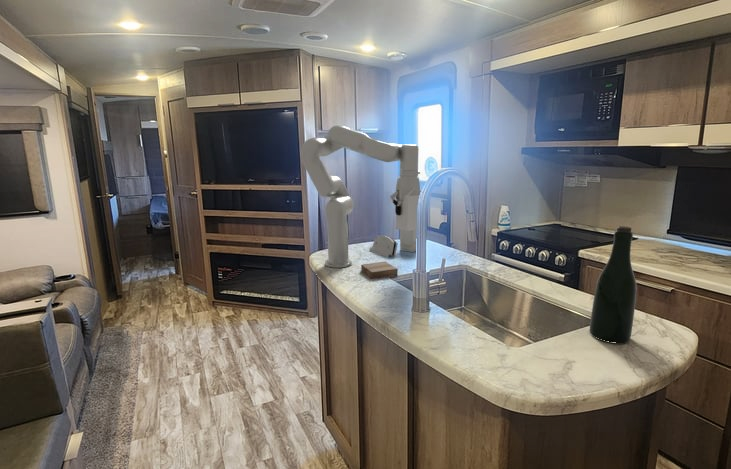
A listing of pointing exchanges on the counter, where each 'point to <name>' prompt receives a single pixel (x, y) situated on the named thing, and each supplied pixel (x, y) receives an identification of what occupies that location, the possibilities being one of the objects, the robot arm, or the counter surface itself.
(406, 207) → the milk carton
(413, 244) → the skincare box
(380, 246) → the grey rounded slab
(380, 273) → the walnut stand
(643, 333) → the counter surface
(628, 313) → the dark green wine bottle
